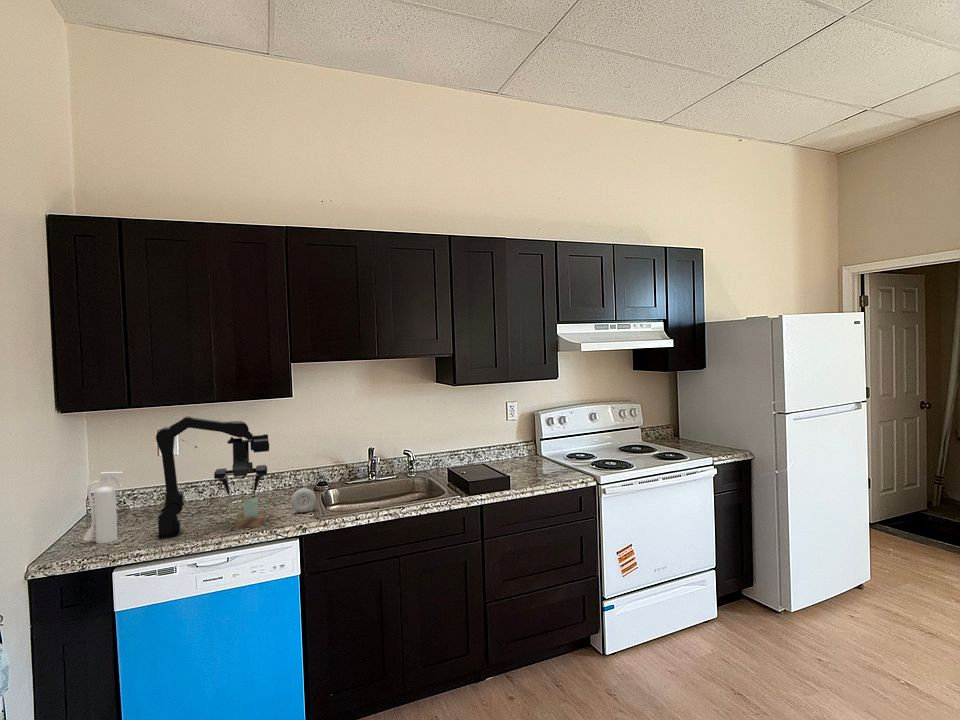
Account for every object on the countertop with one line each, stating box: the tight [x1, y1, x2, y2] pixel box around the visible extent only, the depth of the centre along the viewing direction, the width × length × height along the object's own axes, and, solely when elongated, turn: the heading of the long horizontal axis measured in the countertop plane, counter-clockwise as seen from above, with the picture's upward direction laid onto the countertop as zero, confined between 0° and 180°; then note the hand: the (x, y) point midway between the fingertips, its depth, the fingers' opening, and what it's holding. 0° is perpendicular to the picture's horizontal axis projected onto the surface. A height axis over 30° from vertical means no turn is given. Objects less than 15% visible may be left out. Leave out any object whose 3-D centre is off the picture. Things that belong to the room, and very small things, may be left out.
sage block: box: [243, 497, 259, 518], centre depth 209 cm, size 5×5×6 cm
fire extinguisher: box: [82, 471, 124, 544], centre depth 195 cm, size 7×12×25 cm, turn 116°
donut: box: [290, 487, 317, 513], centre depth 223 cm, size 10×4×10 cm, turn 112°
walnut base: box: [234, 509, 267, 530], centre depth 209 cm, size 10×10×4 cm
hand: (241, 493), depth 210 cm, fingers open, 9 cm apart
